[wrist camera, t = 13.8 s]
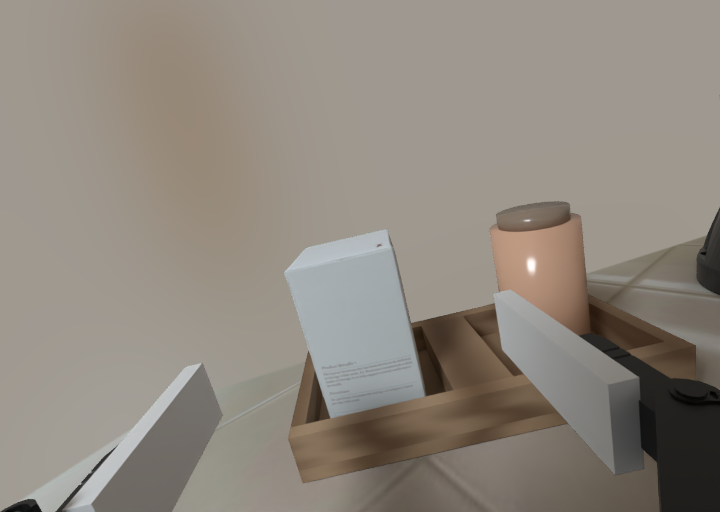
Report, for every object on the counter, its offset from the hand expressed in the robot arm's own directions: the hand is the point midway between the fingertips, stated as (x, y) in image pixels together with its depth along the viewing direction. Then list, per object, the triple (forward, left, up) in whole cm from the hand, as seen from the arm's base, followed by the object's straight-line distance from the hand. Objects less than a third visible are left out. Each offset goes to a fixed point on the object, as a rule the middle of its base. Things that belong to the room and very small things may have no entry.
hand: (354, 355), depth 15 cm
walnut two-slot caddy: (-7, -11, -11) cm, 17 cm away
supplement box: (0, -11, -10) cm, 15 cm away
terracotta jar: (-14, -11, -10) cm, 20 cm away
